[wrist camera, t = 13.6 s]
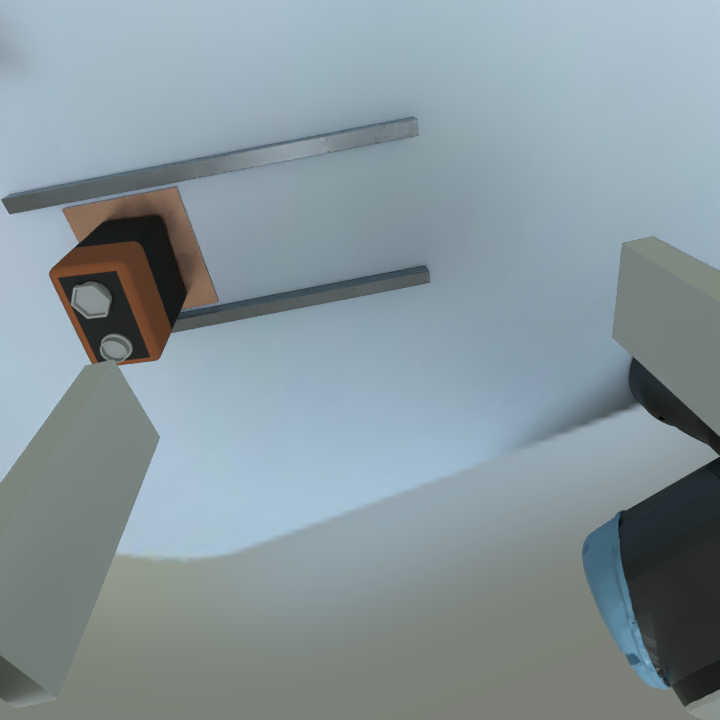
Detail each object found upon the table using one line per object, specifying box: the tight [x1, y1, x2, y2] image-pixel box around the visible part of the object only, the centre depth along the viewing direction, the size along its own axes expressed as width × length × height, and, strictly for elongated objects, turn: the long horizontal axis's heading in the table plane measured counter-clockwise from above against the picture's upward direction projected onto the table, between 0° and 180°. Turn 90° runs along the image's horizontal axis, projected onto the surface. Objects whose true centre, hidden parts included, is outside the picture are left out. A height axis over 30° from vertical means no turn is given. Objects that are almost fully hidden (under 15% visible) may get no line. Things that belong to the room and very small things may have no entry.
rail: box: [1, 117, 430, 333], centre depth 35 cm, size 12×28×1 cm, turn 99°
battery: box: [49, 216, 186, 365], centre depth 31 cm, size 4×7×10 cm, turn 5°
